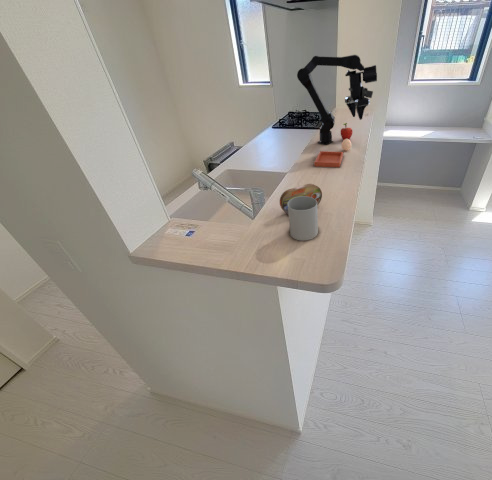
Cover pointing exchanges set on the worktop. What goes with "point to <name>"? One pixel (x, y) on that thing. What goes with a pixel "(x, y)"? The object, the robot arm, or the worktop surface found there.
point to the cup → (303, 217)
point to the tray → (328, 159)
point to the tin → (300, 194)
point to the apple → (346, 132)
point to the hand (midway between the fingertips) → (357, 118)
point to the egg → (346, 144)
